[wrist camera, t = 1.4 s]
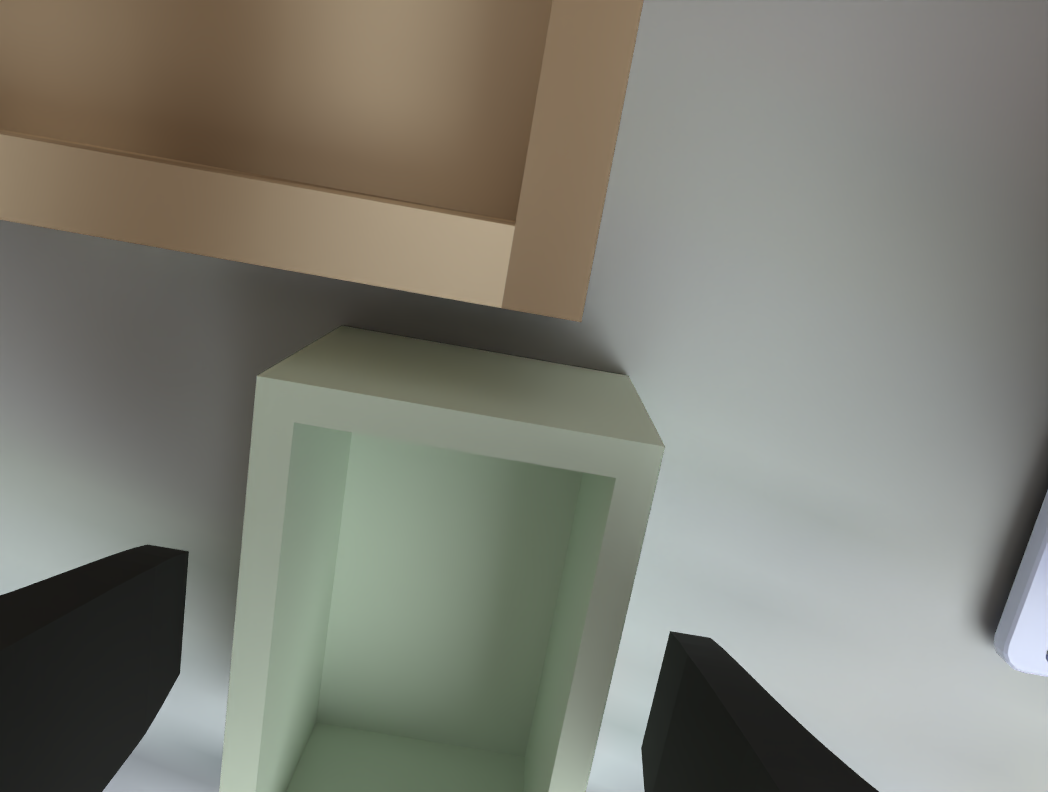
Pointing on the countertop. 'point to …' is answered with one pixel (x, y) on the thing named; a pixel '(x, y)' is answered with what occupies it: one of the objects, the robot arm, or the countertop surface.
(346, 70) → the box
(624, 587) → the sage crate
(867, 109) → the countertop surface
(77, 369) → the countertop surface
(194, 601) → the countertop surface
